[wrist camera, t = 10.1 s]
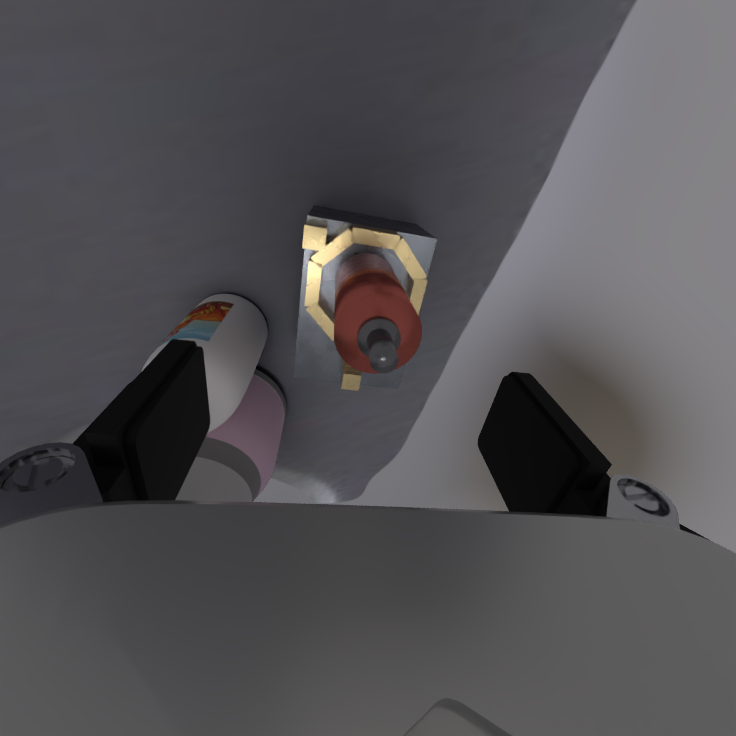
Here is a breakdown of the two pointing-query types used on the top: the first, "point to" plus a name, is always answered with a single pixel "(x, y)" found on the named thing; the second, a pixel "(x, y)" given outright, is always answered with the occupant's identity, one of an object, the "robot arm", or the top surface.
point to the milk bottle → (224, 348)
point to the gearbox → (320, 266)
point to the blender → (240, 448)
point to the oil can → (373, 316)
